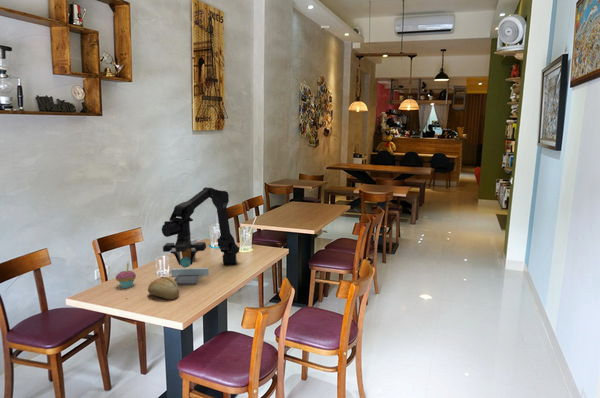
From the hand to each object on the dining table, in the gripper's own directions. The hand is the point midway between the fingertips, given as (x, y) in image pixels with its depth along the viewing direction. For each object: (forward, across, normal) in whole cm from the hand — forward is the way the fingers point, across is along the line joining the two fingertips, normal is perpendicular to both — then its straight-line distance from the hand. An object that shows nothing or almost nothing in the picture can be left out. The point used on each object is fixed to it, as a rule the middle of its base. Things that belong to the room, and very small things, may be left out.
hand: (185, 264), depth 209 cm
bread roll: (+8, -5, -19) cm, 21 cm away
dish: (+8, 0, 0) cm, 8 cm away
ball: (-1, 0, 0) cm, 1 cm away
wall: (+8, 0, +7) cm, 11 cm away
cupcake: (+8, -26, -6) cm, 28 cm away
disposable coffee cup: (+8, -6, +31) cm, 33 cm away
